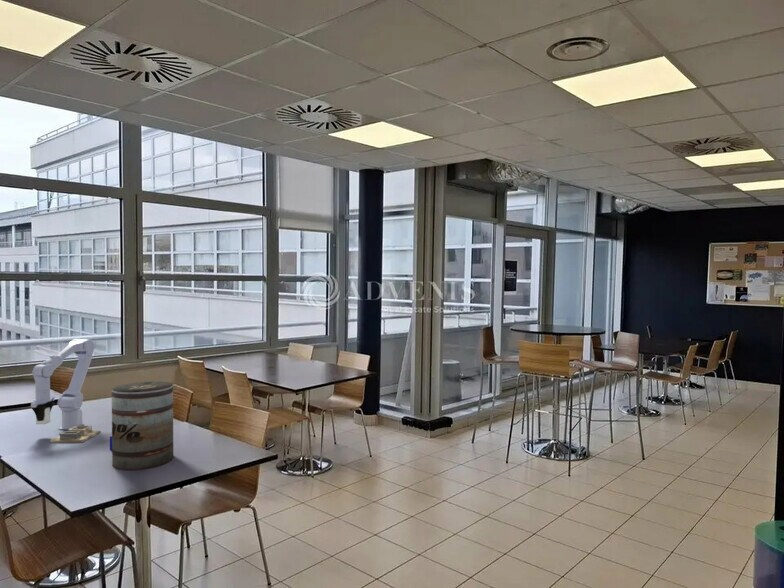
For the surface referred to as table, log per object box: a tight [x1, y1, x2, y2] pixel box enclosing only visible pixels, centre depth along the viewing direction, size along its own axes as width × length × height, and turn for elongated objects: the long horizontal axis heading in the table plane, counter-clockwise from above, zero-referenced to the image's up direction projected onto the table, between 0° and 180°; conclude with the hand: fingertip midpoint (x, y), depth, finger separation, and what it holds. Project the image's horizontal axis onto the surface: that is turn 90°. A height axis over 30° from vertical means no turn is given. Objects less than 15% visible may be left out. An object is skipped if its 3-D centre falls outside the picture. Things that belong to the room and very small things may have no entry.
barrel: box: [111, 380, 174, 471], centre depth 217 cm, size 22×22×30 cm
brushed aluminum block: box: [35, 407, 51, 425], centre depth 250 cm, size 4×4×7 cm
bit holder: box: [49, 425, 101, 444], centre depth 249 cm, size 16×14×4 cm
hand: (43, 419), depth 250 cm, fingers closed on brushed aluminum block, 4 cm apart
